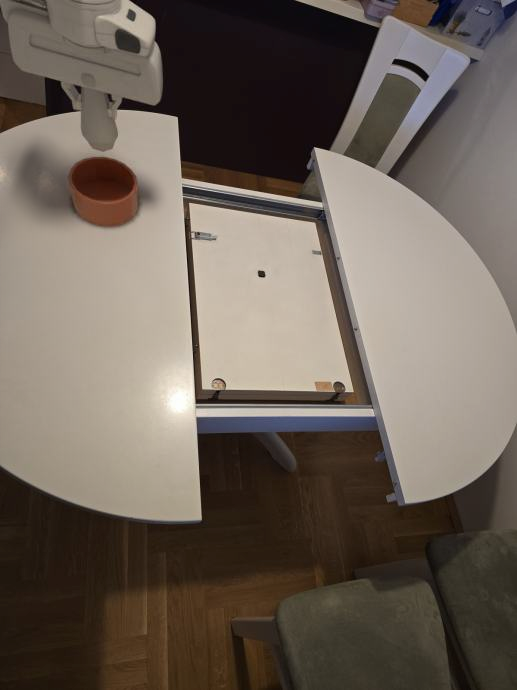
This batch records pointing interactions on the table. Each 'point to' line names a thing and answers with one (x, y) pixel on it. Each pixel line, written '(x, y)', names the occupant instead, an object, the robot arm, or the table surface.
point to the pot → (104, 191)
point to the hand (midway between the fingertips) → (96, 112)
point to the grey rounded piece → (96, 117)
